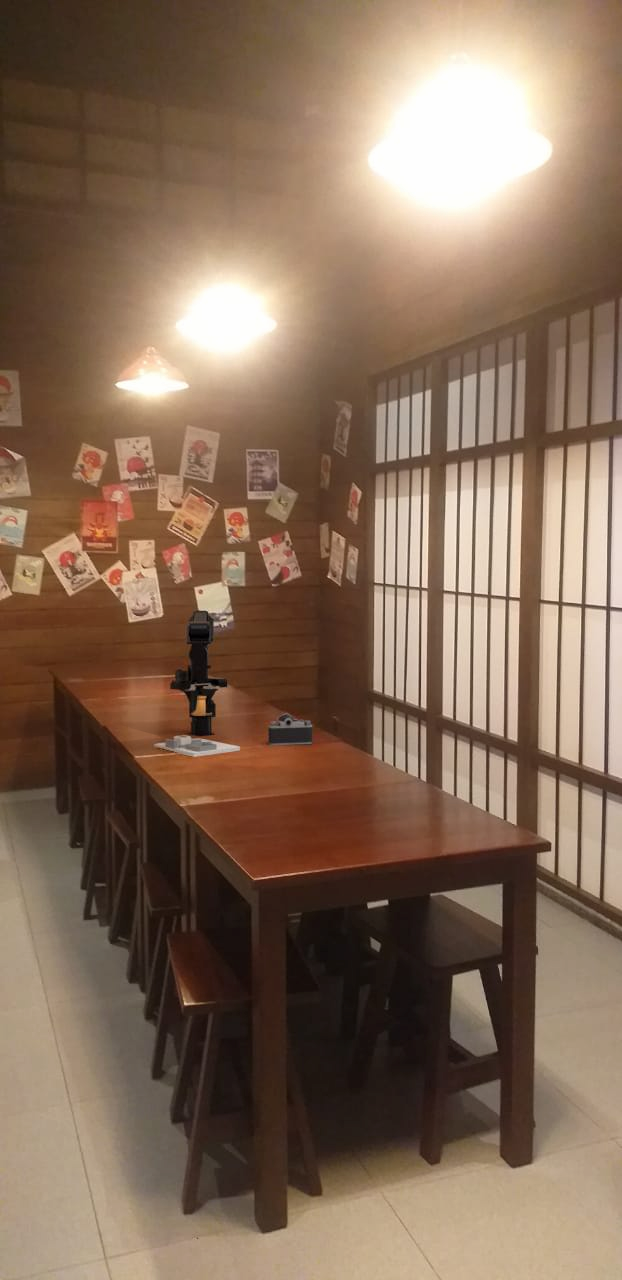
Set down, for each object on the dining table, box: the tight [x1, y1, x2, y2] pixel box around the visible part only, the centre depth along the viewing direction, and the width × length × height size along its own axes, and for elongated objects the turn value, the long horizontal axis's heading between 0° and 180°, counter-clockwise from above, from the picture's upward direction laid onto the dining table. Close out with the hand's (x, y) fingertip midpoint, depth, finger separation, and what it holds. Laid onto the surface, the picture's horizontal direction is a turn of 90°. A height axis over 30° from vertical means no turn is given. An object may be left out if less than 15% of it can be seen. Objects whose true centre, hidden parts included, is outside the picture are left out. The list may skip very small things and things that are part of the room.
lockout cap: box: [192, 696, 207, 716], centre depth 312 cm, size 5×5×6 cm
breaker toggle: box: [173, 734, 192, 747], centre depth 315 cm, size 4×4×3 cm
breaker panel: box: [153, 737, 241, 758], centre depth 316 cm, size 18×22×4 cm
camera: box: [266, 713, 313, 746], centre depth 330 cm, size 16×8×10 cm, turn 102°
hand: (199, 711), depth 312 cm, fingers closed on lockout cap, 4 cm apart
